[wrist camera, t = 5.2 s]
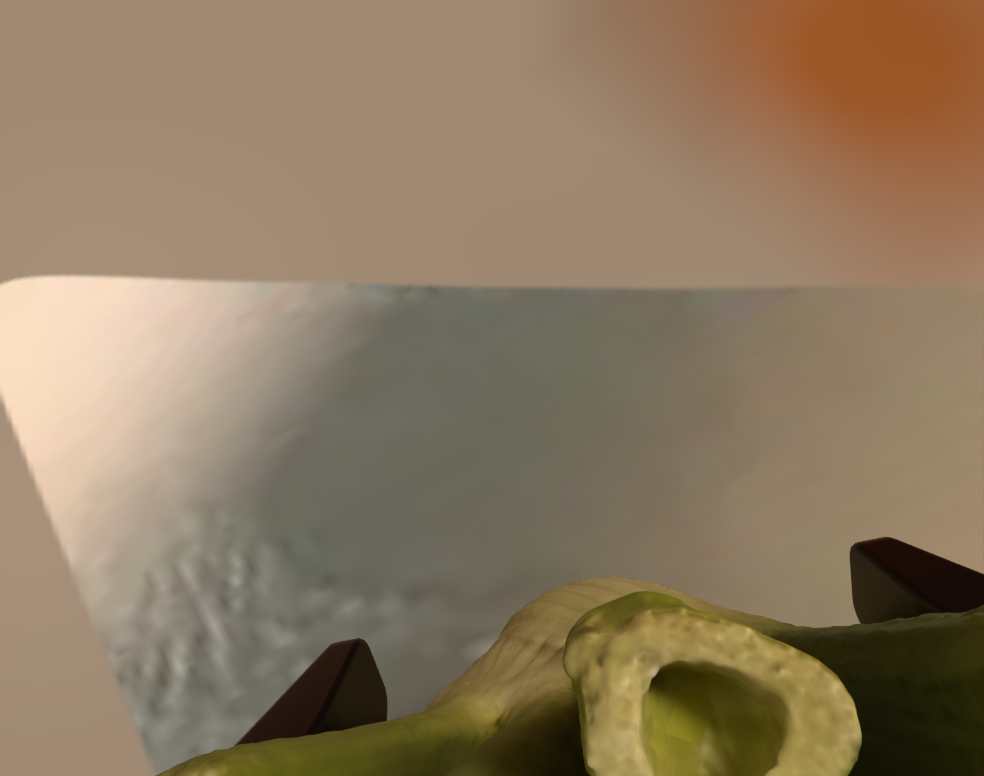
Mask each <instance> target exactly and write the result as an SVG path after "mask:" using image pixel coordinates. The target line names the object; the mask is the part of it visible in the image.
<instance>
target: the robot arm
mask: <svg viewBox="0 0 984 776" xmlns="http://www.w3.org/2000/svg"><path fill="white" fill-rule="evenodd" d="M850 568H851V583H852V597H853V604H854V609H855V612H856V614H857V617H858V619H859V621H860V623H861V624H866V625H868V624H871V623H882V622H885V621H890V620H893V619H897V618H904V619H907V618H911V617H917V616H920V615H922V614H927V613H963V612H968V611H969V610H972V609H976V608H978V607H980V606H983V605H984V574H982V573H980V572H977V571H975V570H972V569H970V568H967V567H965V566H962V565H960V564H957V563H955V562H952V561H950V560H947V559H945V558H942V557H939V556H937V555H934V554H932V553H929V552H927V551H924V550H922V549H919V548H917V547H914V546H912V545H909V544H907V543H904V542H902V541H899V540H897V539H894V538H891V537H882V538H877V539H872V540H866V541H861V542H857V543H855V544H854V545H853V546H852V547H851V550H850ZM384 721H387V694H386V690H385V686H384V684H383V681H382V678H381V676H380V673H379V671H378V668H377V666H376V663H375V661H374V658H373V656H372V653H371V650H370V648H369V646H368V644H367V643H366V642H365V640H363V639H360V638H357V639H352V640H347V641H342V642H337V643H333V644H331V645H330V646H329V647H328V648H327V649H326V650H325V651H324V652H323V653H322V654H321V655H320V656H319V657H318V658H317V659H316V660H315V661H314V662H313V663H312V664H311V665H310V667H309V668H308V669H307V670H306V671H305V672H304V673H303V674H302V675H301V676H300V677H299V678H298V679H297V680H296V681H295V682H294V683H293V684H292V686H291V687H290V688H289V689H288V690H287V691H286V692H285V693H284V694H283V695H282V696H281V697H280V698H279V699H278V700H277V701H276V702H275V703H274V704H273V706H272V707H271V708H270V709H269V710H268V711H267V712H266V713H265V714H264V715H263V716H262V717H261V718H260V719H259V720H258V721H257V722H256V723H255V725H254V726H253V727H252V728H251V729H250V730H249V731H248V732H247V733H246V734H245V735H244V736H243V737H242V738H241V739H240V740H239V741H238V742H237V744H236V745H240V744H249V743H259V742H262V741H268V740H273V739H277V738H298V737H301V736H306V735H316V734H320V733H323V732H330V731H342V730H346V729H350V728H354V727H358V726H362V725H367V724H373V723H378V722H384ZM236 745H235V746H236Z"/></svg>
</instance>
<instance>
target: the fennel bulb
mask: <svg viewBox="0 0 984 776" xmlns="http://www.w3.org/2000/svg"><path fill="white" fill-rule="evenodd" d="M157 776H984V605H983V606H980V607H978V608H976V609H972V610H969V611H968V612H963V613H927V614H922V615H920V616H917V617H911V618H907V619H904V618H897V619H893V620H890V621H885V622H882V623H871V624H868V625H866V624H854V625H852V626H832V627H827V628H811V627H805V626H794V625H792V624H788V623H781V622H778V621H775V620H772V619H769V618H765V617H762V616H756V615H751V614H746V613H743V612H739V611H733V610H729V609H725V608H722V607H719V606H716V605H713V604H711V603H708V602H705V601H703V600H699V599H697V598H694V597H692V596H689V595H686V594H685V593H683V592H681V591H678V590H676V589H670V588H665V587H663V586H662V585H656V584H654V583H649V582H646V581H638V580H634V579H628V578H619V577H610V576H607V577H604V578H593V579H585V580H581V581H577V582H574V583H571V584H568V585H566V586H564V587H560V588H557V589H554V590H551V591H548V592H546V593H544V594H542V595H540V596H539V597H537V598H536V599H534V600H533V601H531V602H530V603H528V604H527V605H526V606H525V607H524V608H522V609H521V610H520V611H518V612H516V613H515V614H514V615H513V616H512V617H511V619H510V620H509V621H508V623H507V625H506V626H505V627H504V629H503V631H502V633H501V635H500V636H499V638H498V640H496V642H495V643H494V644H493V645H492V647H491V648H490V649H489V650H488V652H486V653H485V654H484V655H483V656H482V657H480V658H479V659H478V660H476V661H475V663H474V664H473V665H472V666H471V667H470V668H469V669H468V670H467V671H466V672H465V673H464V674H463V675H462V676H461V677H459V678H458V679H456V680H455V681H453V682H452V683H450V684H449V685H448V686H447V687H446V688H445V690H444V691H443V692H441V693H440V694H439V695H438V696H437V697H436V699H435V700H434V701H433V702H432V703H431V704H430V705H429V706H428V707H427V708H426V709H425V711H424V712H422V713H419V714H414V715H409V716H406V717H402V718H398V719H395V720H390V721H384V722H378V723H373V724H367V725H362V726H358V727H354V728H350V729H346V730H342V731H330V732H323V733H320V734H316V735H306V736H301V737H298V738H277V739H273V740H268V741H262V742H259V743H249V744H240V745H236V746H234V747H231V748H229V749H225V750H220V749H219V750H214V751H213V752H211V753H208V754H204V755H200V756H197V757H194V758H192V759H190V760H188V761H186V762H183V763H181V764H178V765H176V766H174V767H173V768H171V769H169V770H167V771H164V772H162V773H160V774H158V775H157Z"/></svg>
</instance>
